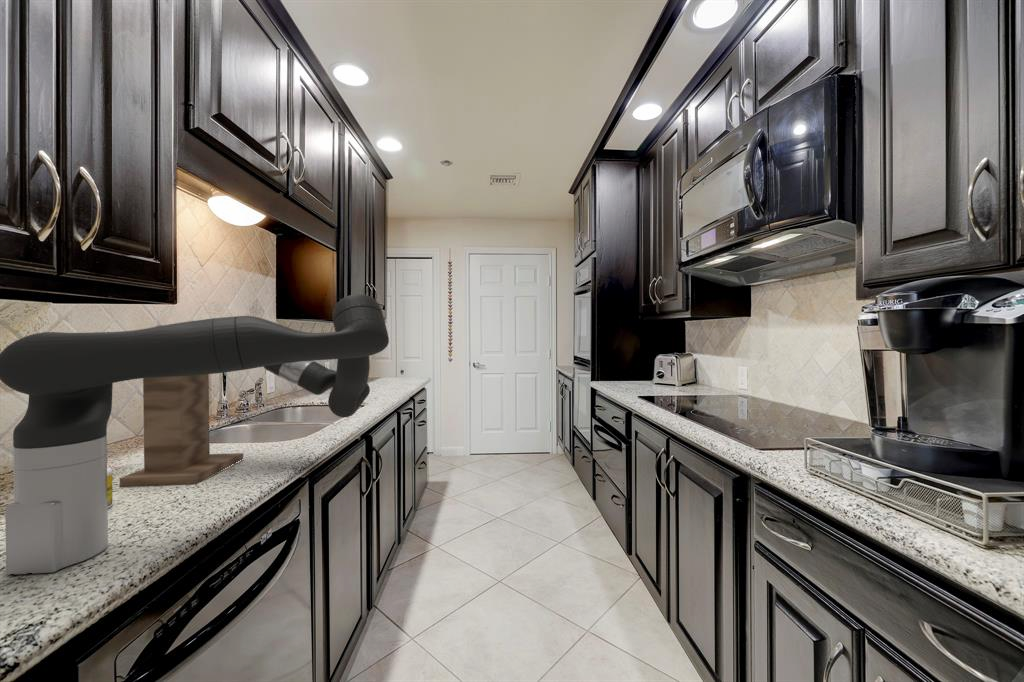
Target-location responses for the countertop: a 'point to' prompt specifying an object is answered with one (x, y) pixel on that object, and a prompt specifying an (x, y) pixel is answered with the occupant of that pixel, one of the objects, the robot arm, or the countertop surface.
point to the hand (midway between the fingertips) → (231, 332)
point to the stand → (177, 434)
